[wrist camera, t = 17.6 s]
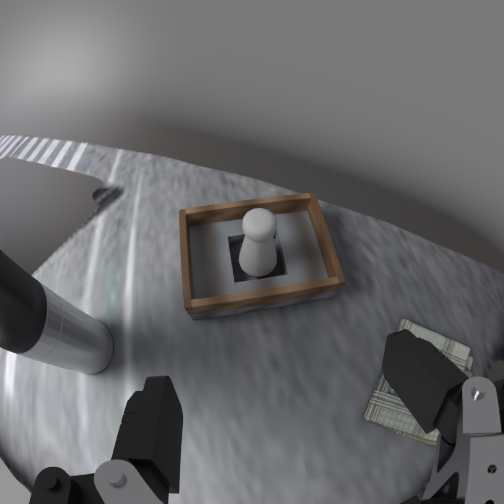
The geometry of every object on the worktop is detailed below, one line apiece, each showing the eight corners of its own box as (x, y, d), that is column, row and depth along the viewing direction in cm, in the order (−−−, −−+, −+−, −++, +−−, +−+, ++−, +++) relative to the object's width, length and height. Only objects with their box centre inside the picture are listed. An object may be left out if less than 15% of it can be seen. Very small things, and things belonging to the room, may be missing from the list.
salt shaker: (241, 248, 47) (238, 198, 35) (276, 250, 47) (284, 201, 35) (237, 281, 44) (233, 237, 33) (274, 283, 44) (283, 240, 32)
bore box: (193, 319, 41) (184, 307, 36) (186, 230, 48) (179, 210, 43) (334, 296, 43) (345, 281, 37) (308, 214, 50) (314, 192, 45)
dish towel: (356, 419, 34) (364, 421, 31) (398, 318, 41) (407, 313, 38) (440, 448, 29) (450, 449, 27) (471, 356, 37) (481, 352, 34)
